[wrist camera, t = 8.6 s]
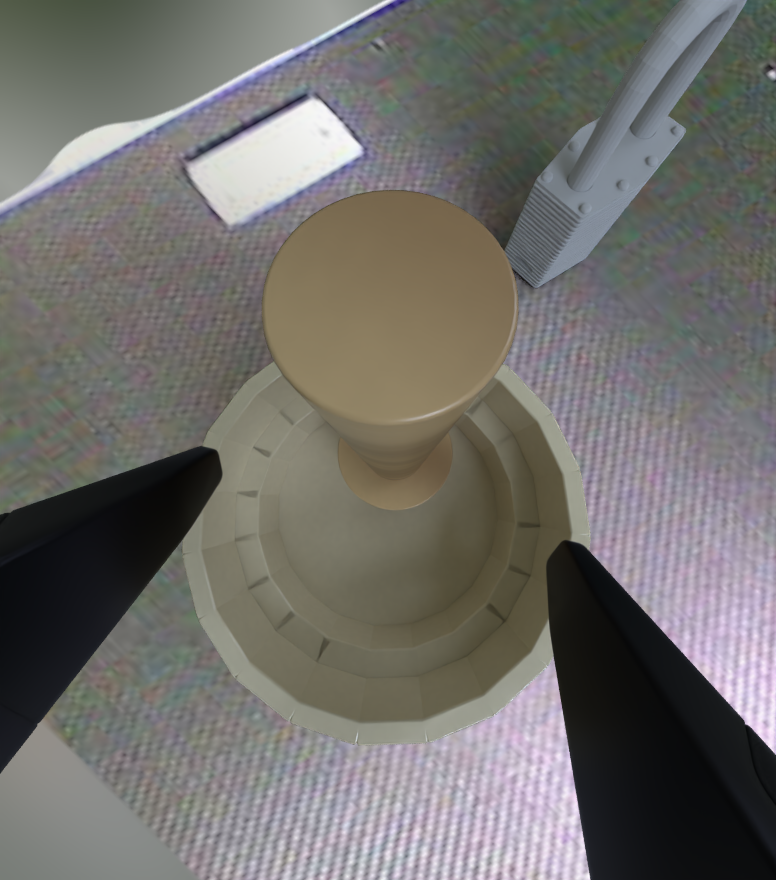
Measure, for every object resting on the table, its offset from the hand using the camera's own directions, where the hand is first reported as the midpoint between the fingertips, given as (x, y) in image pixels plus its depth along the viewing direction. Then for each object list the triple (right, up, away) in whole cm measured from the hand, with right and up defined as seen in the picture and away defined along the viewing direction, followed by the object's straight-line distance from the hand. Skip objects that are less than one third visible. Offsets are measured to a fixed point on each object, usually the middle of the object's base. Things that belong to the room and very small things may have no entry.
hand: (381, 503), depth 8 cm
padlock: (+11, +14, +11) cm, 21 cm away
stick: (+1, +1, +8) cm, 8 cm away
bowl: (0, -2, +8) cm, 9 cm away
